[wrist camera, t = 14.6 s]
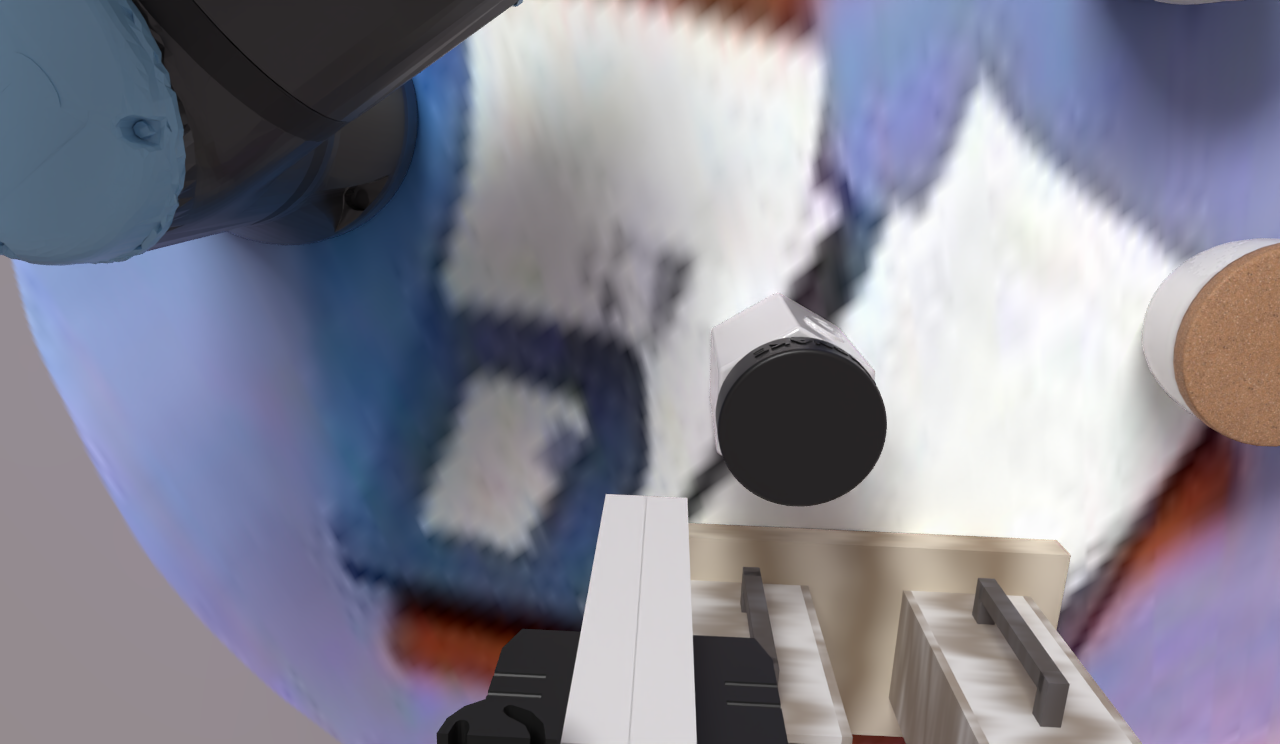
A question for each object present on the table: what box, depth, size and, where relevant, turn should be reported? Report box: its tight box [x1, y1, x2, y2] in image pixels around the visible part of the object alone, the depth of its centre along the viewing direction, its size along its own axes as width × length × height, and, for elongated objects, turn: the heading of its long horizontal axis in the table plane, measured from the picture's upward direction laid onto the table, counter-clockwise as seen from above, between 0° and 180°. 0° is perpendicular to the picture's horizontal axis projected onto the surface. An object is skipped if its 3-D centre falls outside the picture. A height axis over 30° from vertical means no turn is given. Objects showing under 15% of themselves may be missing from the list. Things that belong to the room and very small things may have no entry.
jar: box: [710, 293, 887, 506], centre depth 47 cm, size 9×8×12 cm
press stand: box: [688, 523, 1142, 744], centre depth 49 cm, size 26×14×16 cm, turn 88°
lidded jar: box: [1142, 238, 1280, 447], centre depth 46 cm, size 11×11×9 cm
